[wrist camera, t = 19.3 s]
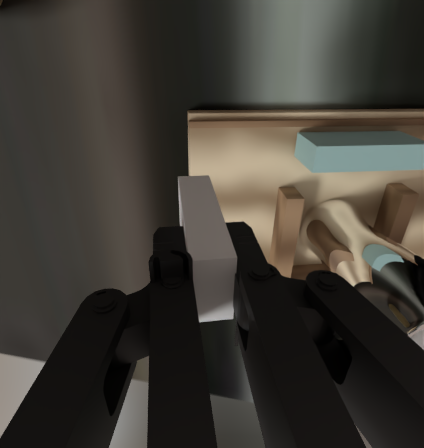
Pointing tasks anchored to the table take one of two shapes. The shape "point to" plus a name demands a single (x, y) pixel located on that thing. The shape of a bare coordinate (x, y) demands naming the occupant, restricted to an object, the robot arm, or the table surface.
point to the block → (359, 151)
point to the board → (302, 177)
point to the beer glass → (369, 263)
